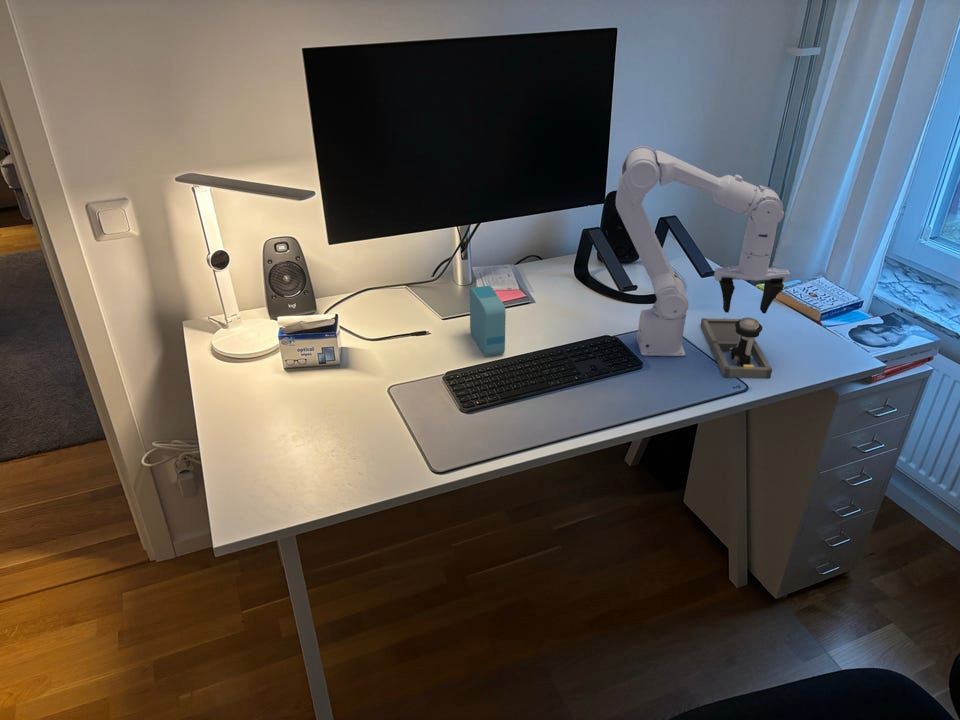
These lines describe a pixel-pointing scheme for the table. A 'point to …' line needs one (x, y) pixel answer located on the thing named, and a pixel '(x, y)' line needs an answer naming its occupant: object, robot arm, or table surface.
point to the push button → (745, 340)
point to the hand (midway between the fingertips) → (744, 310)
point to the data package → (487, 320)
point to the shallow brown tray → (724, 338)
